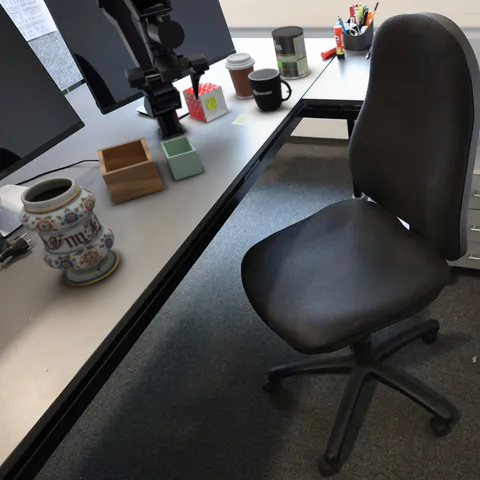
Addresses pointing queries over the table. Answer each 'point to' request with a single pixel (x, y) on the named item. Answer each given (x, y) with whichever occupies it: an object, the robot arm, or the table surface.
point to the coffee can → (290, 52)
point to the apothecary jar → (69, 230)
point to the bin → (181, 157)
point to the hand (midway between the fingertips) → (178, 104)
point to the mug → (267, 89)
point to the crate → (129, 170)
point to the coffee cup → (241, 73)
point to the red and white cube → (206, 102)
